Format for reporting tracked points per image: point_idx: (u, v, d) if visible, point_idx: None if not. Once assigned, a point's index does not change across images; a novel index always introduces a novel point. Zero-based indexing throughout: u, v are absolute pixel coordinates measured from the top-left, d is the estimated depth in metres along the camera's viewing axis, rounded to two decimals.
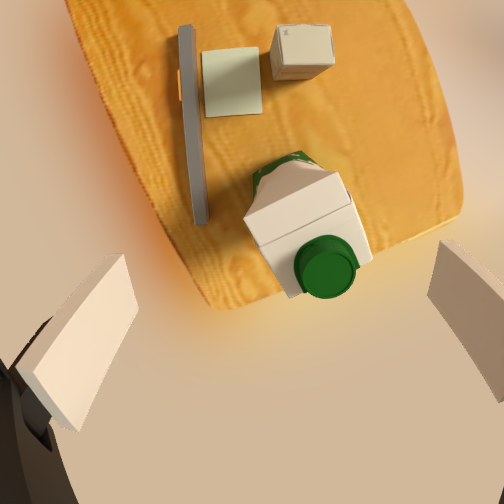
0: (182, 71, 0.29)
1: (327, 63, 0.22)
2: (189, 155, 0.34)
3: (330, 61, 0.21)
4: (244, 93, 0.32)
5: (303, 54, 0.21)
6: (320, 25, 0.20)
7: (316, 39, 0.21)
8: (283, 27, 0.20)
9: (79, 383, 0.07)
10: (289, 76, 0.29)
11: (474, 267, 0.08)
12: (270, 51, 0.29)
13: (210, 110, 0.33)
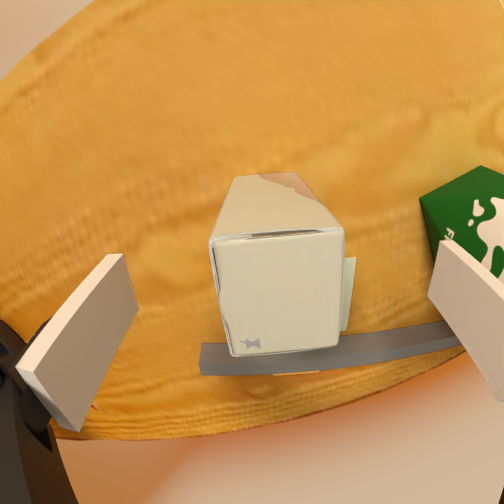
0: (277, 372, 0.23)
1: (342, 249, 0.09)
2: (395, 357, 0.23)
3: (336, 240, 0.09)
4: None
5: (315, 310, 0.10)
6: (215, 264, 0.09)
7: (267, 280, 0.09)
8: (237, 347, 0.11)
9: (79, 383, 0.07)
10: None
11: (474, 267, 0.08)
12: None
13: None
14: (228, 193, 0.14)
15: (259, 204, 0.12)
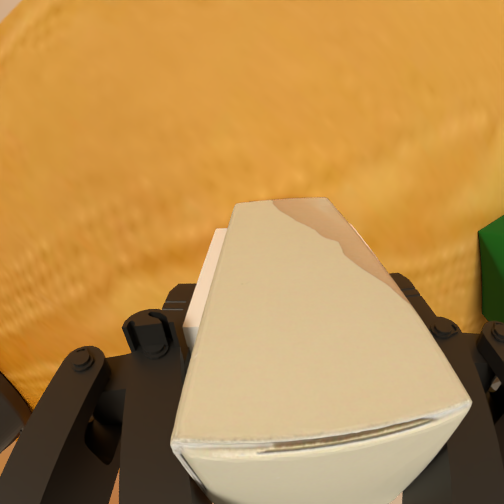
0: None
1: (454, 430, 0.03)
2: None
3: (452, 426, 0.03)
4: None
5: (375, 494, 0.04)
6: (192, 469, 0.03)
7: (299, 489, 0.03)
8: None
9: None
10: None
11: None
12: None
13: None
14: (224, 246, 0.09)
15: (282, 297, 0.06)
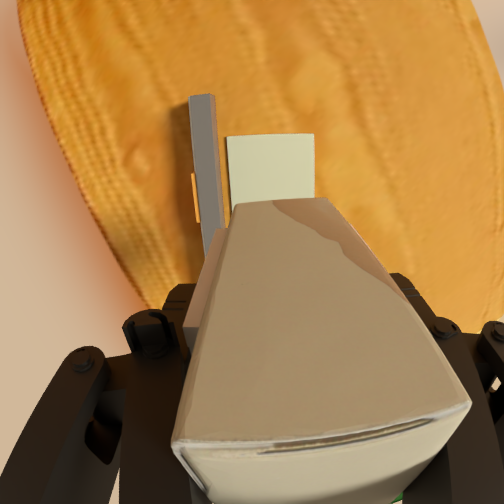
0: (199, 178, 0.22)
1: None
2: None
3: (452, 426, 0.03)
4: None
5: (375, 494, 0.04)
6: (192, 469, 0.03)
7: (300, 489, 0.03)
8: None
9: None
10: None
11: None
12: None
13: None
14: (224, 247, 0.09)
15: (283, 297, 0.06)
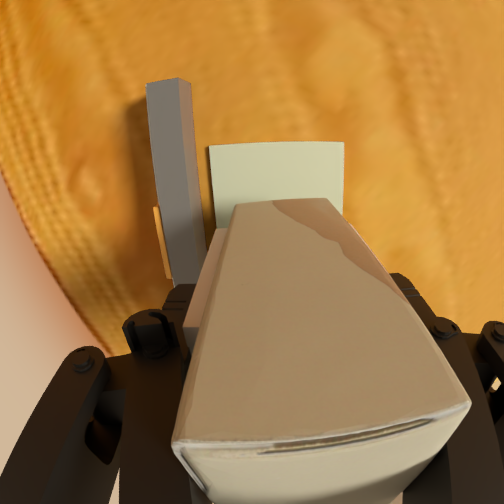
0: (165, 214, 0.14)
1: None
2: None
3: (452, 426, 0.03)
4: None
5: (375, 494, 0.04)
6: (192, 469, 0.03)
7: (300, 489, 0.03)
8: None
9: None
10: None
11: None
12: None
13: None
14: (224, 247, 0.09)
15: (283, 298, 0.06)
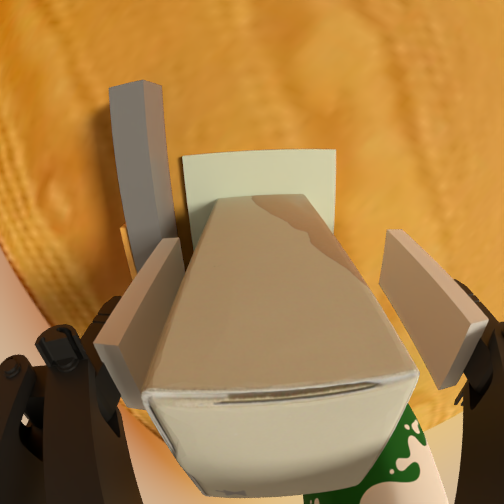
0: (132, 236, 0.12)
1: (406, 402, 0.04)
2: None
3: (402, 394, 0.04)
4: None
5: (338, 468, 0.05)
6: (160, 425, 0.04)
7: (259, 451, 0.04)
8: (212, 493, 0.05)
9: (151, 359, 0.08)
10: None
11: (415, 253, 0.10)
12: None
13: None
14: (202, 236, 0.09)
15: (249, 277, 0.06)
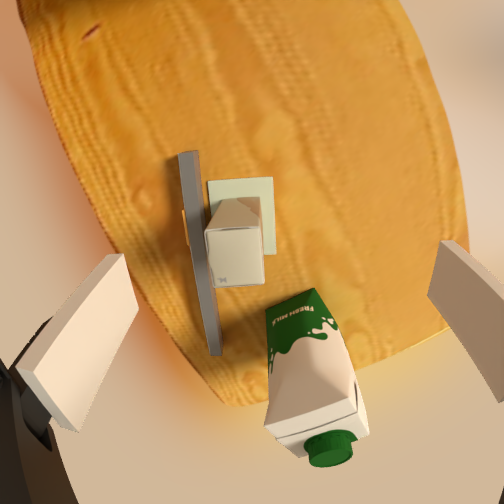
0: (187, 213, 0.30)
1: (259, 236, 0.22)
2: (202, 300, 0.35)
3: (256, 232, 0.22)
4: None
5: (250, 263, 0.23)
6: (206, 241, 0.22)
7: (228, 248, 0.22)
8: (216, 282, 0.23)
9: (79, 383, 0.07)
10: None
11: (474, 267, 0.08)
12: None
13: None
14: (216, 210, 0.28)
15: (229, 216, 0.25)
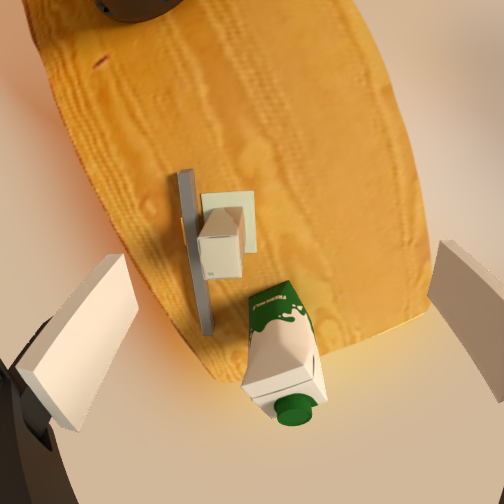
0: (185, 220, 0.38)
1: (237, 242, 0.30)
2: (196, 289, 0.43)
3: (235, 239, 0.30)
4: None
5: (230, 262, 0.31)
6: (199, 245, 0.30)
7: (214, 251, 0.30)
8: (206, 275, 0.32)
9: (79, 383, 0.07)
10: (244, 237, 0.38)
11: (474, 267, 0.08)
12: None
13: None
14: (207, 219, 0.35)
15: (216, 225, 0.33)
